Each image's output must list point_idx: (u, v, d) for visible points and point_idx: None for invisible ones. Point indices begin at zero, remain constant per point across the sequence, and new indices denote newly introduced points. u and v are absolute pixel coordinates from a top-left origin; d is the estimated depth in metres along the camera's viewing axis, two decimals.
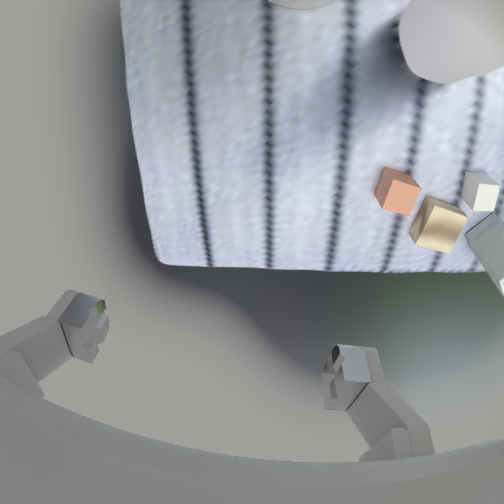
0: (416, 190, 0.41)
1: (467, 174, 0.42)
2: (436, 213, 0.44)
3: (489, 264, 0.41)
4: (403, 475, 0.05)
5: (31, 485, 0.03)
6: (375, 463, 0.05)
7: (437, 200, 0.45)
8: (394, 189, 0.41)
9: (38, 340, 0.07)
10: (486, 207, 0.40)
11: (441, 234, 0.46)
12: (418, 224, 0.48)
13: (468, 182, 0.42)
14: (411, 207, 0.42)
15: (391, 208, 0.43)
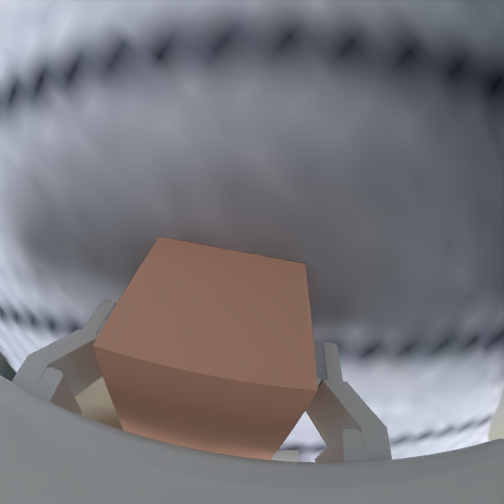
0: (255, 454, 0.08)
1: (295, 458, 0.18)
2: None
3: None
4: (403, 475, 0.05)
5: (31, 485, 0.03)
6: (375, 463, 0.05)
7: None
8: (247, 399, 0.06)
9: (77, 355, 0.07)
10: None
11: None
12: None
13: None
14: None
15: (117, 387, 0.07)
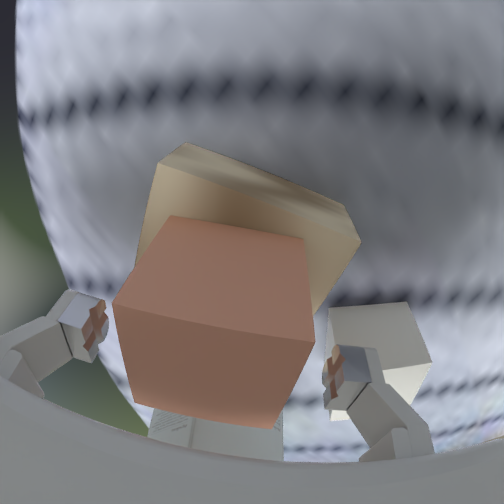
0: (258, 420, 0.09)
1: (406, 309, 0.16)
2: (321, 253, 0.12)
3: None
4: (403, 475, 0.05)
5: (31, 485, 0.03)
6: (375, 463, 0.05)
7: None
8: (251, 352, 0.07)
9: (38, 340, 0.07)
10: None
11: None
12: (240, 173, 0.12)
13: (392, 322, 0.16)
14: (174, 409, 0.09)
15: (131, 347, 0.08)
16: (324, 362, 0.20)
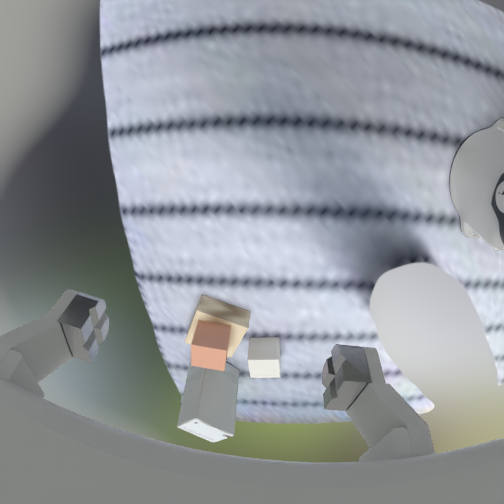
0: (220, 368, 0.43)
1: (277, 340, 0.50)
2: (238, 329, 0.45)
3: (201, 396, 0.45)
4: (403, 475, 0.05)
5: (31, 485, 0.03)
6: (375, 463, 0.05)
7: None
8: (216, 352, 0.41)
9: (38, 340, 0.07)
10: (253, 370, 0.49)
11: None
12: (217, 307, 0.46)
13: (270, 344, 0.50)
14: (201, 366, 0.43)
15: (193, 352, 0.42)
16: None
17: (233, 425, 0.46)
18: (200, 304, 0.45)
